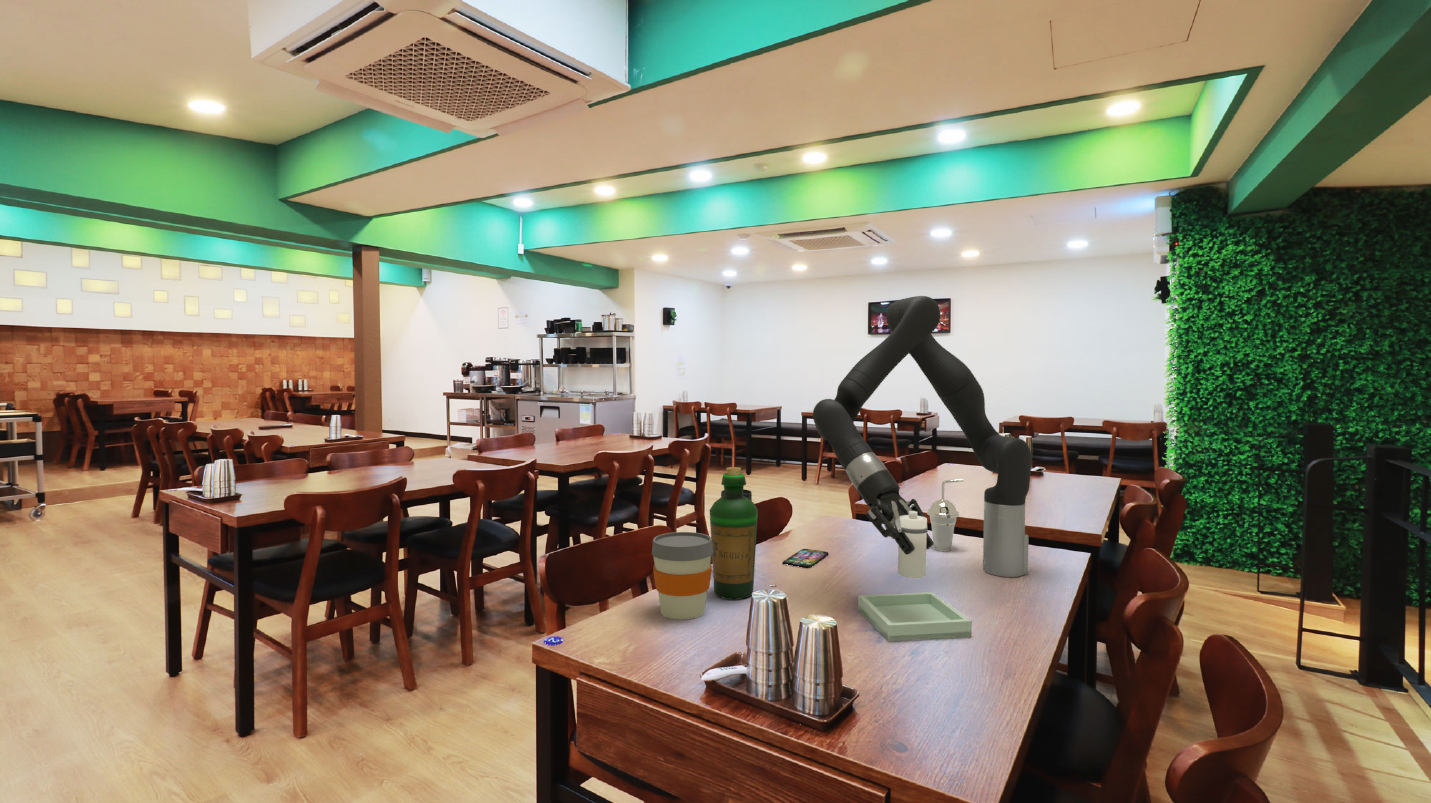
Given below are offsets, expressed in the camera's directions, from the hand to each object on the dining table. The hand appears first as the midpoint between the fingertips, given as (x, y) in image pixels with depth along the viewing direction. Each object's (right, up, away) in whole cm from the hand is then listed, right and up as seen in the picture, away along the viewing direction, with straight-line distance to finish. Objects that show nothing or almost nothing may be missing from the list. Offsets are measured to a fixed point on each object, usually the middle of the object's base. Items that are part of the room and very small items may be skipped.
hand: (920, 549), depth 126 cm
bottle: (-35, -14, +19) cm, 43 cm away
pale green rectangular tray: (-1, -15, +2) cm, 15 cm away
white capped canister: (-1, -5, +2) cm, 6 cm away
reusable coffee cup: (-46, -15, +8) cm, 49 cm away
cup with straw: (+24, -13, +55) cm, 61 cm away
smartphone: (-16, -14, +46) cm, 50 cm away
